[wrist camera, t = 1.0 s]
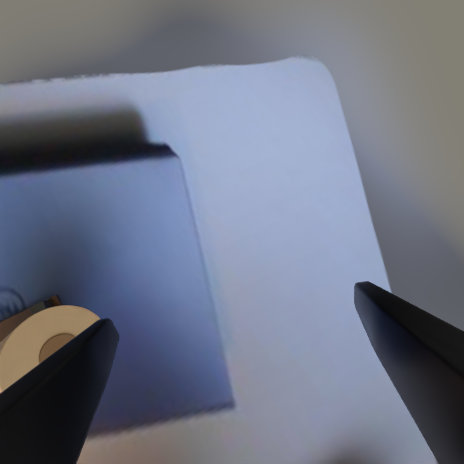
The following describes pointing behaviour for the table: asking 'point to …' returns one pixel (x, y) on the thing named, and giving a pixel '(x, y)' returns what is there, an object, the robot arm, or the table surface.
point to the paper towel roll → (40, 339)
